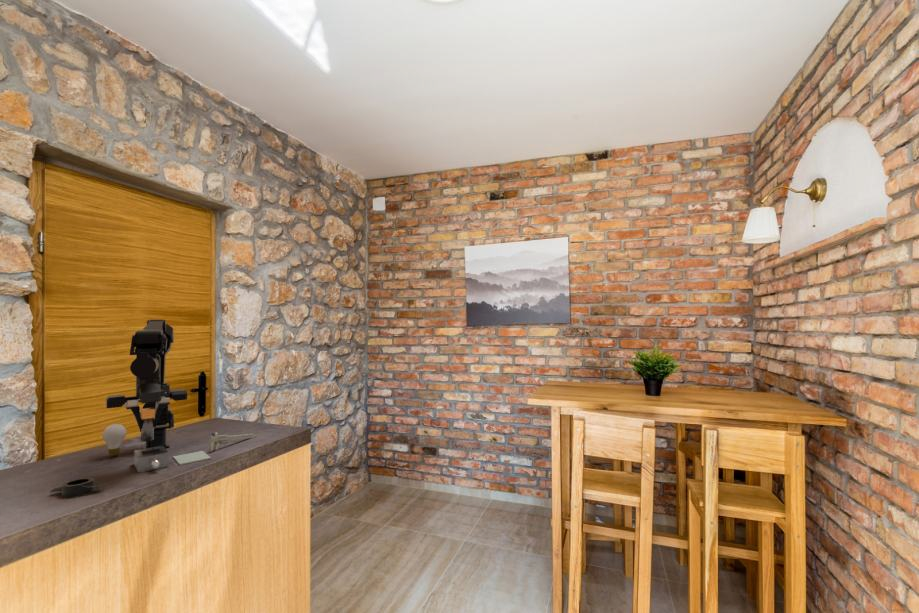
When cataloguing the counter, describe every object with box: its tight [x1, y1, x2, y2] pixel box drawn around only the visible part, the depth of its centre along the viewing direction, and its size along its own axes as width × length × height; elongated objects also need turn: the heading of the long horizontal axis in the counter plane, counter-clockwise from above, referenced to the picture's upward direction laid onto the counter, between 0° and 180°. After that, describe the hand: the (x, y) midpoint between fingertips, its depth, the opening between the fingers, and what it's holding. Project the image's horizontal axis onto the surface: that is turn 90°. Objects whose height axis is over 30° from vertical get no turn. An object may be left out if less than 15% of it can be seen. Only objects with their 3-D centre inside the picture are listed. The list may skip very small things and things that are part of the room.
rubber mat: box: [172, 450, 212, 466], centre depth 129 cm, size 10×8×1 cm
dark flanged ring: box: [49, 477, 105, 499], centre depth 103 cm, size 8×10×3 cm
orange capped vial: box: [140, 408, 155, 443], centre depth 123 cm, size 3×3×9 cm
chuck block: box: [133, 446, 170, 473], centre depth 122 cm, size 14×7×4 cm, turn 43°
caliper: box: [208, 431, 257, 453], centre depth 145 cm, size 20×1×6 cm, turn 166°
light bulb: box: [101, 423, 127, 458], centre depth 132 cm, size 6×6×10 cm
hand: (147, 427), depth 123 cm, fingers closed on orange capped vial, 3 cm apart
